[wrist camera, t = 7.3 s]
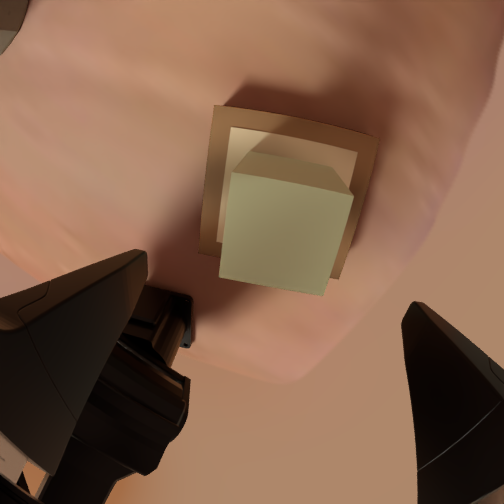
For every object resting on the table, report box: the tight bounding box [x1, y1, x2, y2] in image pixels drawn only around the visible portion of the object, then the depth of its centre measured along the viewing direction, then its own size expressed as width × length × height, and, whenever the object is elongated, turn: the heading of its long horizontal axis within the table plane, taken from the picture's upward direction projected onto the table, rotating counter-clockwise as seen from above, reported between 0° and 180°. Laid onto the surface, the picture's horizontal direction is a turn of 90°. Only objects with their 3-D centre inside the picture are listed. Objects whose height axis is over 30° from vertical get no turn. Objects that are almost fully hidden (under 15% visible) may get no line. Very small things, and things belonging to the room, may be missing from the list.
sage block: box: [219, 151, 354, 296], centre depth 15 cm, size 5×5×6 cm
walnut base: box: [198, 105, 380, 279], centre depth 19 cm, size 10×10×3 cm
